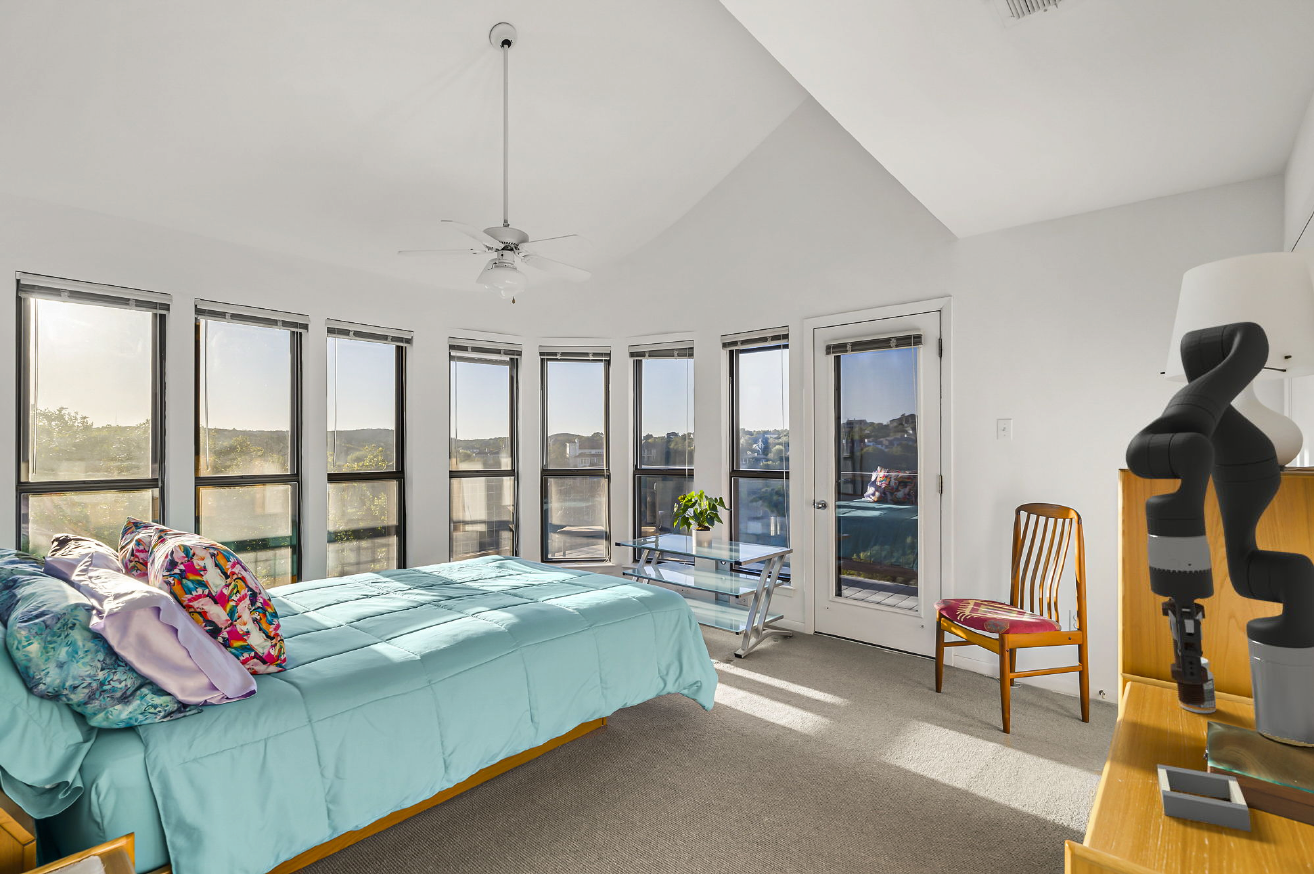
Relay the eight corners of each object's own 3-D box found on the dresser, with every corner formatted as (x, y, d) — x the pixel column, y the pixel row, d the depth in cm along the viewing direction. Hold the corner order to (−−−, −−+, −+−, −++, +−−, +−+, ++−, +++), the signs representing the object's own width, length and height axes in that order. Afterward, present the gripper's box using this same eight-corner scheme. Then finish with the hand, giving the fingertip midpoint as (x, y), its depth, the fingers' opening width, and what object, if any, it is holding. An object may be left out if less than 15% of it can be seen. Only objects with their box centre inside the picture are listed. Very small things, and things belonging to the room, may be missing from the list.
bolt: (1215, 712, 94) (1205, 610, 94) (1171, 706, 97) (1161, 607, 97) (1212, 698, 99) (1202, 601, 99) (1170, 692, 102) (1161, 598, 102)
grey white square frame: (1158, 782, 104) (1157, 763, 104) (1237, 796, 99) (1235, 776, 99) (1164, 814, 96) (1162, 794, 96) (1250, 831, 91) (1248, 810, 91)
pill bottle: (1179, 700, 133) (1175, 652, 133) (1216, 705, 129) (1211, 656, 129) (1179, 710, 128) (1174, 661, 128) (1217, 716, 125) (1212, 665, 125)
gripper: (1219, 574, 90) (1230, 695, 90) (1203, 555, 102) (1214, 662, 102) (1152, 572, 94) (1163, 688, 94) (1145, 553, 106) (1154, 656, 106)
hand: (1189, 674), depth 98 cm, fingers closed on bolt, 4 cm apart
